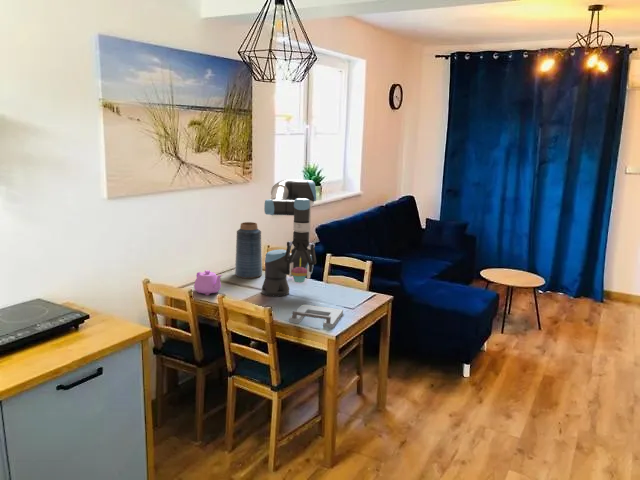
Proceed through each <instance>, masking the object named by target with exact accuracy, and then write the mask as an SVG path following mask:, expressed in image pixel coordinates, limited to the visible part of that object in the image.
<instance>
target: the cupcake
mask: <svg viewBox="0 0 640 480" xmlns="http://www.w3.org/2000/svg"><path fill="white" fill-rule="evenodd" d="M291 275H292V278H293V282H295V283H299V284H300V283H301V284H302V283H304V282H305V280H306V279H307V269H306V268H303V267H301V256H300V267H295V268H293V269H292V270H291Z"/></svg>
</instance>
